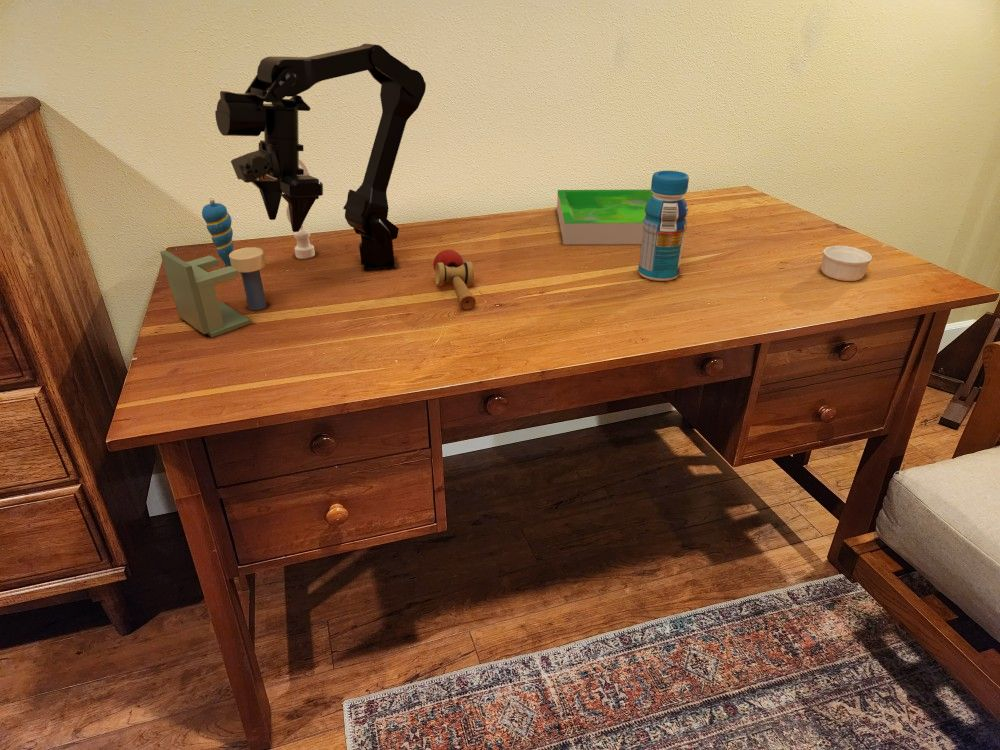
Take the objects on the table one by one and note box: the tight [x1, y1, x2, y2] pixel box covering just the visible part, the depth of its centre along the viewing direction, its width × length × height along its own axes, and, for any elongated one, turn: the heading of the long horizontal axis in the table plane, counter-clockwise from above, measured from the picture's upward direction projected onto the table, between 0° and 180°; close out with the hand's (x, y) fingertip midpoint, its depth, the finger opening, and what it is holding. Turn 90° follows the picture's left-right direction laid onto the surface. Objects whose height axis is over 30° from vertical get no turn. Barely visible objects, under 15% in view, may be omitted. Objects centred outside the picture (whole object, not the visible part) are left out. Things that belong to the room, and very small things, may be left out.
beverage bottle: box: [637, 170, 690, 282], centre depth 130 cm, size 8×8×20 cm
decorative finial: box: [285, 157, 316, 260], centre depth 140 cm, size 6×4×25 cm
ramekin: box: [820, 245, 873, 282], centre depth 134 cm, size 9×9×4 cm
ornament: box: [201, 198, 234, 267], centre depth 136 cm, size 5×5×15 cm
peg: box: [229, 246, 268, 311], centre depth 122 cm, size 6×6×10 cm
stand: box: [159, 250, 252, 338], centre depth 116 cm, size 8×11×13 cm
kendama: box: [432, 249, 476, 311], centre depth 128 cm, size 8×6×18 cm
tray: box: [556, 189, 654, 245], centre depth 160 cm, size 25×25×5 cm
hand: (283, 225), depth 123 cm, fingers open, 9 cm apart
